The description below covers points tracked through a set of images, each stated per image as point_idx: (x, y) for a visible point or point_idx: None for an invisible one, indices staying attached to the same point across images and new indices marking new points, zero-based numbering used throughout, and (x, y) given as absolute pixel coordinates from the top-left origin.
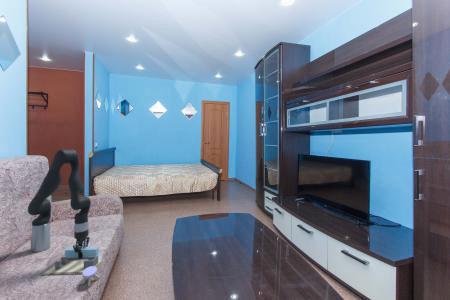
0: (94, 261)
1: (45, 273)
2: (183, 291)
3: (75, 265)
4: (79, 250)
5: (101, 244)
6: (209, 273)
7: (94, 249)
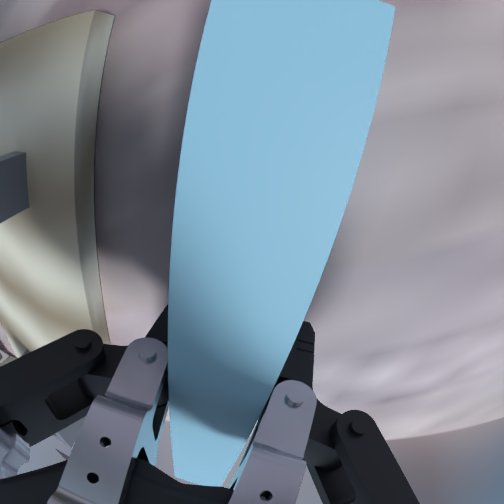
0: None
1: None
2: (63, 454)
3: (27, 301)
4: (75, 403)
5: (490, 398)
6: None
7: (178, 473)
